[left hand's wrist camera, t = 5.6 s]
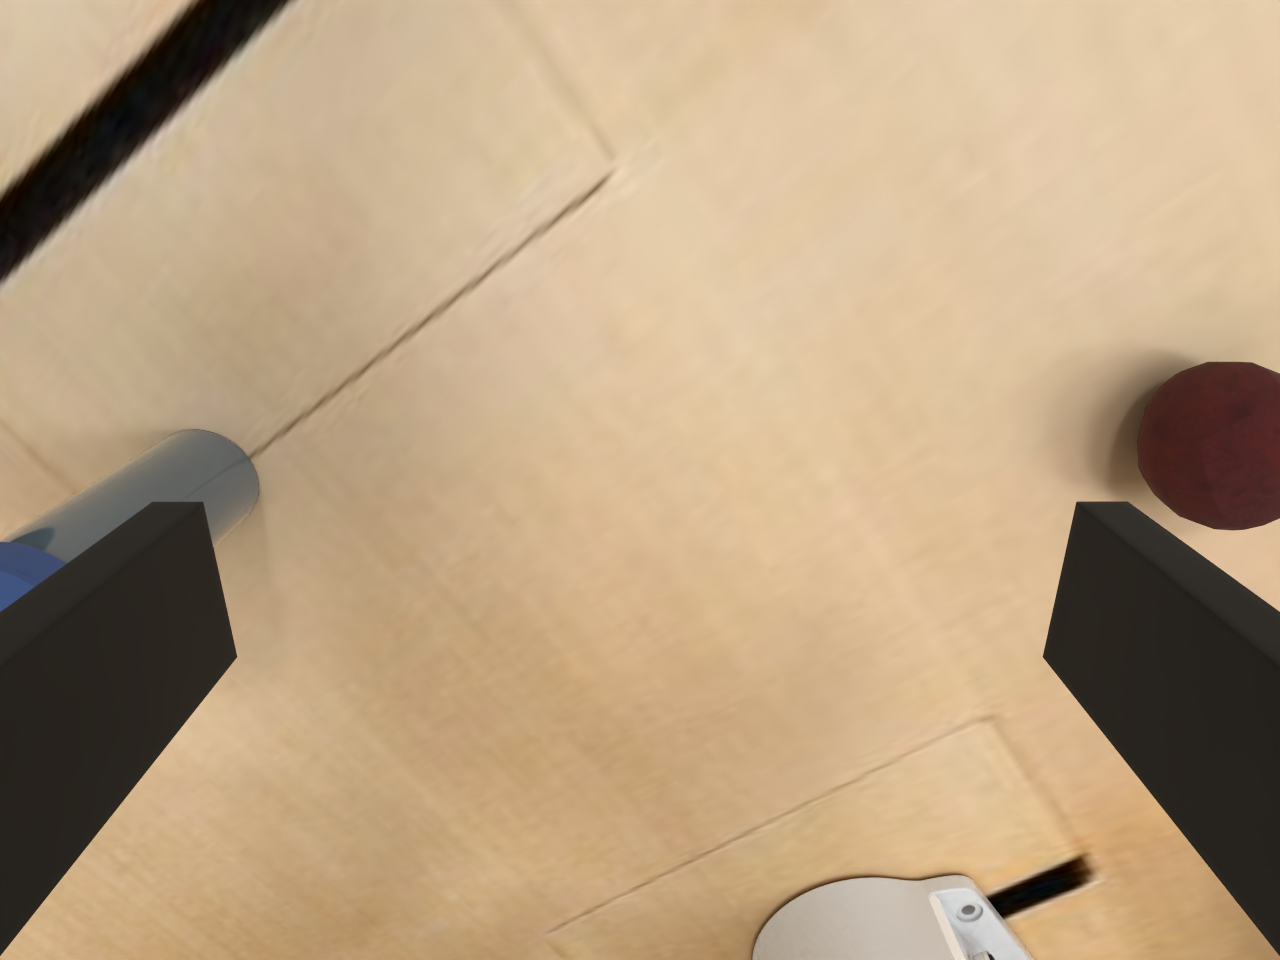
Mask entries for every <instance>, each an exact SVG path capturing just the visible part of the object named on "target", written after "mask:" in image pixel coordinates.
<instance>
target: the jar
mask: <svg viewBox="0 0 1280 960" xmlns="http://www.w3.org/2000/svg"><path fill="white" fill-rule="evenodd" d="M258 492H259V483H258V478H257V474H256V471H255V469H254V467H253V465H252V463H251V461H250V460H249V458H248V457H247V456H246V454H245V453H244V452H243V451H242V450H241V449H240V448H239V447H238V446H237V445H235V444H234V443H233V442H231V441H230V440H228V439H227V438H225V437H223V436H221V435H218V434H215V433H212V432H208V431H203V430H186V431H181V432H177V433H175V434H173V435H171V436H169V437H167V438H166V439H164V440H163V441H161V442H159V443H158V444H156V445H154V446H153V447H151V448H149V449H148V450H146V451H145V452H143V453H141V454H140V455H138V456H136V457H135V458H133V459H131V460H130V461H128V462H127V463H125V464H123V465H122V466H120V467H118V468H117V469H115V470H113V471H112V472H110V473H109V474H107V475H105V476H104V477H102V478H100V479H99V480H97V481H95V482H94V483H92V484H91V485H89V486H87V487H86V488H84V489H82V490H81V491H79V492H77V493H76V494H74V495H73V496H71V497H69V498H68V499H66V500H64V501H63V502H61V503H59V504H58V505H56V506H55V507H53V508H51V509H50V510H48V511H46V512H45V513H43V514H41V515H40V516H38V517H37V518H35V519H33V520H32V521H30V522H28V523H27V524H25V525H23V526H22V527H20V528H19V529H17V530H15V531H14V532H12V533H10V534H9V535H7V536H5V537H4V538H2V539H1V540H0V542H11V543H19V544H23V545H27V546H31V547H34V548H37V549H40V550H42V551H45V552H47V553H49V554H51V555H53V556H55V557H57V558H59V559H60V560H62V561H64V562H65V563H69V562H70V561H71V560H73V559H74V558H75V557H77V556H78V555H80V554H81V553H82V552H84V551H85V550H86V549H88V548H89V547H91V546H92V545H93V544H95V543H96V542H98V541H99V540H100V539H102V538H103V537H104V536H106V535H107V534H109V533H110V532H111V531H113V530H114V529H115V528H117V527H118V526H120V525H121V524H122V523H124V522H125V521H126V520H128V519H129V518H131V517H132V516H133V515H135V514H136V513H138V512H139V511H140V510H142V509H143V508H144V507H146V506H147V505H149V504H150V503H151V502H204V507H205V511H206V516H207V521H208V525H209V530H210V534H211V539H212V544H213V548H214V547H215V546H216V545H217V544H218V543H219V542H220V541H221V540H222V539H223V538H225V537H226V536H227V535H228V534H229V533H230V532H231V531H232V530H233V529H234V528H235V527H236V526H237V525H238V524H239V523H241V522H242V521H243V520H244V519H245V518H246V517H247V516H248V515H249V514H250V513H251V511H252V510H253V508H254V506H255V504H256V502H257V498H258Z"/></svg>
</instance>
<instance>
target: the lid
mask: <svg viewBox="0 0 1280 960" xmlns="http://www.w3.org/2000/svg"><path fill="white" fill-rule="evenodd" d="M66 564H67V563H65V562H64V561H62V560H60V559H59V558H57V557H55V556H53V555H51V554H49V553H47V552H45V551H42V550H40V549H37V548H34V547H31V546H27V545H23V544H19V543H11V542H0V612H1V611H2V610H4V609H5V608H6V607H8V606H9V605H11V604H12V603H13V602H15V601H16V600H17V599H19V598H20V597H22V596H23V595H24V594H26V593H27V592H28V591H30V590H31V589H33V588H34V587H35V586H37V585H38V584H40V583H41V582H42V581H44V580H45V579H46V578H48V577H49V576H51V575H52V574H53V573H55V572H56V571H57V570H59V569H60V568H62V567H63V566H64V565H66Z"/></svg>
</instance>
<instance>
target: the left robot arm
mask: <svg viewBox="0 0 1280 960" xmlns="http://www.w3.org/2000/svg"><path fill="white" fill-rule="evenodd" d="M236 658H237V654H236V649H235V645H234V640H233V636H232V631H231V626H230V622H229V617H228V613H227V608H226V603H225V599H224V594H223V590H222V585H221V580H220V576H219V571H218V567H217V562H216V557H215V553H214V548H213V544H212V539H211V534H210V530H209V525H208V521H207V516H206V511H205V507H204V502H151V503H150V504H149V505H147V506H146V507H144V508H143V509H142V510H140V511H139V512H138V513H136V514H135V515H133V516H132V517H131V518H129V519H128V520H126V521H125V522H124V523H122V524H121V525H120V526H118V527H117V528H115V529H114V530H113V531H111V532H110V533H109V534H107V535H106V536H104V537H103V538H102V539H100V540H99V541H98V542H96V543H95V544H93V545H92V546H91V547H89V548H88V549H86V550H85V551H84V552H82V553H81V554H80V555H78V556H77V557H75V558H74V559H73V560H71V561H70V562H69V563H67V564H66V565H64V566H63V567H62V568H60V569H59V570H57V571H56V572H55V573H53V574H52V575H51V576H49V577H48V578H46V579H45V580H44V581H42V582H41V583H40V584H38V585H37V586H35V587H34V588H33V589H31V590H30V591H28V592H27V593H26V594H24V595H23V596H22V597H20V598H19V599H17V600H16V601H15V602H13V603H12V604H11V605H9V606H8V607H6V608H5V609H4V610H2V611H1V612H0V956H1V954H2V953H3V952H4V951H5V949H6V948H7V947H8V945H9V944H10V943H11V942H12V940H13V939H14V938H15V937H16V935H17V934H18V933H19V932H20V930H21V929H22V928H23V927H24V925H25V924H26V923H27V922H28V920H29V919H30V918H31V916H32V915H33V914H34V913H35V911H36V910H37V909H38V908H39V906H40V905H41V904H42V903H43V901H44V900H45V899H46V898H47V896H48V895H49V894H50V892H51V891H52V890H53V889H54V887H55V886H56V885H57V884H58V882H59V881H60V880H61V879H62V877H63V876H64V875H65V874H66V872H67V871H68V870H69V869H70V867H71V866H72V865H73V863H74V862H75V861H76V860H77V858H78V857H79V856H80V855H81V853H82V852H83V851H84V850H85V848H86V847H87V846H88V845H89V843H90V842H91V841H92V839H93V838H94V837H95V836H96V834H97V833H98V832H99V831H100V829H101V828H102V827H103V826H104V824H105V823H106V822H107V821H108V819H109V818H110V817H111V816H112V814H113V813H114V812H115V810H116V809H117V808H118V807H119V805H120V804H121V803H122V802H123V800H124V799H125V798H126V797H127V795H128V794H129V793H130V792H131V790H132V789H133V788H134V786H135V785H136V784H137V783H138V781H139V780H140V779H141V778H142V776H143V775H144V774H145V773H146V771H147V770H148V769H149V768H150V766H151V765H152V764H153V763H154V761H155V760H156V759H157V757H158V756H159V755H160V754H161V752H162V751H163V750H164V749H165V747H166V746H167V745H168V744H169V742H170V741H171V740H172V739H173V737H174V736H175V735H176V733H177V732H178V731H179V730H180V728H181V727H182V726H183V725H184V723H185V722H186V721H187V720H188V718H189V717H190V716H191V715H192V713H193V712H194V711H195V710H196V708H197V707H198V706H199V704H200V703H201V702H202V701H203V699H204V698H205V697H206V696H207V694H208V693H209V692H210V691H211V689H212V688H213V687H214V686H215V684H216V683H217V682H218V680H219V679H220V678H221V677H222V675H223V674H224V673H225V672H226V670H227V669H228V668H229V667H230V665H231V664H232V663H233V662H234V660H235V659H236ZM1043 658H1044V659H1045V660H1046V662H1047V663H1048V664H1049V665H1050V667H1051V668H1052V669H1053V670H1054V672H1055V673H1056V674H1057V675H1058V677H1059V678H1060V679H1061V680H1062V682H1063V683H1064V684H1065V686H1066V687H1067V688H1068V689H1069V691H1070V692H1071V693H1072V694H1073V696H1074V697H1075V698H1076V699H1077V701H1078V702H1079V703H1080V704H1081V706H1082V707H1083V708H1084V710H1085V711H1086V712H1087V713H1088V715H1089V716H1090V717H1091V718H1092V720H1093V721H1094V722H1095V723H1096V725H1097V726H1098V727H1099V728H1100V730H1101V731H1102V732H1103V733H1104V735H1105V736H1106V737H1107V739H1108V740H1109V741H1110V742H1111V744H1112V745H1113V746H1114V747H1115V749H1116V750H1117V751H1118V752H1119V754H1120V755H1121V756H1122V757H1123V759H1124V760H1125V761H1126V763H1127V764H1128V765H1129V766H1130V768H1131V769H1132V770H1133V771H1134V773H1135V774H1136V775H1137V776H1138V778H1139V779H1140V780H1141V781H1142V783H1143V784H1144V785H1145V786H1146V788H1147V789H1148V790H1149V792H1150V793H1151V794H1152V795H1153V797H1154V798H1155V799H1156V800H1157V802H1158V803H1159V804H1160V805H1161V807H1162V808H1163V809H1164V810H1165V812H1166V813H1167V814H1168V816H1169V817H1170V818H1171V819H1172V821H1173V822H1174V823H1175V824H1176V826H1177V827H1178V828H1179V829H1180V831H1181V832H1182V833H1183V834H1184V836H1185V837H1186V838H1187V839H1188V841H1189V842H1190V843H1191V845H1192V846H1193V847H1194V848H1195V850H1196V851H1197V852H1198V853H1199V855H1200V856H1201V857H1202V858H1203V860H1204V861H1205V862H1206V863H1207V865H1208V866H1209V867H1210V869H1211V870H1212V871H1213V872H1214V874H1215V875H1216V876H1217V877H1218V879H1219V880H1220V881H1221V882H1222V884H1223V885H1224V886H1225V887H1226V889H1227V890H1228V891H1229V892H1230V894H1231V895H1232V896H1233V898H1234V899H1235V900H1236V901H1237V903H1238V904H1239V905H1240V906H1241V908H1242V909H1243V910H1244V911H1245V913H1246V914H1247V915H1248V916H1249V918H1250V919H1251V920H1252V922H1253V923H1254V924H1255V925H1256V927H1257V928H1258V929H1259V930H1260V932H1261V933H1262V934H1263V935H1264V937H1265V938H1266V939H1267V940H1268V942H1269V943H1270V944H1271V946H1272V947H1273V948H1274V949H1275V951H1276V952H1277V953H1278V954H1279V956H1280V612H1279V611H1278V610H1276V609H1275V608H1274V607H1272V606H1271V605H1269V604H1268V603H1267V602H1265V601H1264V600H1263V599H1261V598H1260V597H1258V596H1257V595H1256V594H1254V593H1253V592H1252V591H1250V590H1249V589H1247V588H1246V587H1245V586H1243V585H1242V584H1240V583H1239V582H1238V581H1236V580H1235V579H1234V578H1232V577H1231V576H1229V575H1228V574H1227V573H1225V572H1224V571H1223V570H1221V569H1220V568H1218V567H1217V566H1216V565H1214V564H1213V563H1211V562H1210V561H1209V560H1207V559H1206V558H1205V557H1203V556H1202V555H1200V554H1199V553H1198V552H1196V551H1195V550H1194V549H1192V548H1191V547H1189V546H1188V545H1187V544H1185V543H1184V542H1182V541H1181V540H1180V539H1178V538H1177V537H1176V536H1174V535H1173V534H1171V533H1170V532H1169V531H1167V530H1166V529H1165V528H1163V527H1162V526H1160V525H1159V524H1158V523H1156V522H1155V521H1154V520H1152V519H1151V518H1149V517H1148V516H1147V515H1145V514H1144V513H1142V512H1141V511H1140V510H1138V509H1137V508H1136V507H1134V506H1133V505H1131V504H1130V503H1129V502H1076V507H1075V511H1074V516H1073V521H1072V525H1071V530H1070V534H1069V539H1068V544H1067V548H1066V553H1065V557H1064V562H1063V567H1062V571H1061V576H1060V580H1059V585H1058V590H1057V594H1056V599H1055V603H1054V608H1053V613H1052V617H1051V622H1050V626H1049V631H1048V636H1047V640H1046V645H1045V649H1044V654H1043Z"/></svg>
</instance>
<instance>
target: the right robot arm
mask: <svg viewBox="0 0 1280 960" xmlns="http://www.w3.org/2000/svg"><path fill="white" fill-rule="evenodd" d="M752 960H1034V958H1033V957H1032V956H1031V955H1030V953H1029V952H1028V951H1027V949H1026V948H1025V947H1024V946H1023V944H1022V943H1021V942H1020V940H1019V939H1018V938H1017V937H1016V935H1015V934H1014V933H1013V931H1012V930H1011V929H1010V928H1009V926H1008V925H1007V924H1006V922H1005V921H1004V920H1003V918H1002V917H1001V916H1000V915H999V913H998V912H997V911H996V909H995V908H994V907H993V906H992V904H991V903H990V902H989V900H988V899H987V898H986V897H985V895H984V894H983V893H982V891H981V890H980V889H979V888H978V886H977V885H976V884H975V882H974V881H973V880H972V879H970V878H969V877H966V876H963V875H950V876H942V877H937V878H931V879H926V880H921V881H910V880H900V879H891V878H876V877H870V878H856V879H848V880H843V881H838V882H834V883H830V884H827V885H824V886H821V887H818V888H816V889H813V890H811V891H809V892H806V893H804V894H803V895H801V896H799V897H797V898H795V899H794V900H792V901H791V902H789V903H788V904H786V905H785V906H784V907H782V908H781V909H780V910H779V911H778V912H777V913H776V914H775V915H774V916H773V917H772V918H771V919H770V920H769V921H768V922H767V924H766V925H765V926H764V928H763V929H762V931H761V933H760V934H759V936H758V939H757V941H756V944H755V946H754V950H753V957H752Z"/></svg>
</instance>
